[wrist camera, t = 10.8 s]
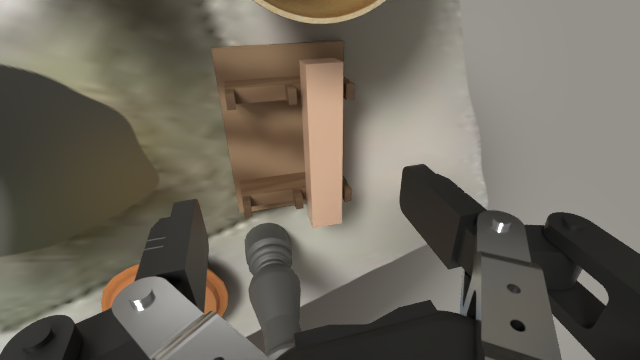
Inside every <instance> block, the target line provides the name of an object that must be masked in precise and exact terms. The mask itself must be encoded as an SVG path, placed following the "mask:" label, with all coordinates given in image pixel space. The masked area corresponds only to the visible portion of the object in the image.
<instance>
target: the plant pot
mask: <svg viewBox="0 0 640 360" xmlns="http://www.w3.org/2000/svg"><path fill="white" fill-rule="evenodd" d="M253 1H254V2H256V3H257V4H259V5H260V6H262V7H264V8H265V9H267V10H269V11H271V12H273V13H275V14H277V15H279V16H282V17H285V18H288V19H291V20H294V21H298V22H303V23H309V24H332V23H338V22H343V21H347V20H350V19H354V18H357V17H359V16H362V15H364V14H366V13H368V12H370V11H371V10H373V9H375V8H376V7H378V6H379V5H381V4H382V3H383V2H385V1H386V0H253Z"/></svg>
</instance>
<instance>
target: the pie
mask: <svg viewBox="0 0 640 360" xmlns="http://www.w3.org/2000/svg"><path fill="white" fill-rule="evenodd" d="M139 265H140V264H137V265H135V266H132V267H129V268H127V269H126V270H124V271H123V272H121V273H120V274H118V275H116V276H115V277H113V278H112V280H111V281H110V282H109V283H108V285H107V286H106V287H105V289H104V290H103V295H102V311H103V312H104V311H106V310H108V309H109V308H111V307H112V304H113V301H114V299H115V297H116V296H117V295H118V294H119V293H120V292H121V290H123V289H124V288H125V287H126V286H128V285H129V284H131V283H133V282H134V280H135V277H136V274H137V271H138V268H139ZM227 306H228V291H227V289H226V286H225V283H224V282H223V281H222V280H221V279H220V278H219V277H218V276H217V275H216V274H215V273H214V272H213V271H211V270H210V269H209V268H207V281H206V296H205V310H204V314H205V315H206V314H207V313H208V312H210V311H213V312H215V313H217V314H218V315H219V316H221V317H222V316H223V314H224V312H225V310H226V308H227Z"/></svg>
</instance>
